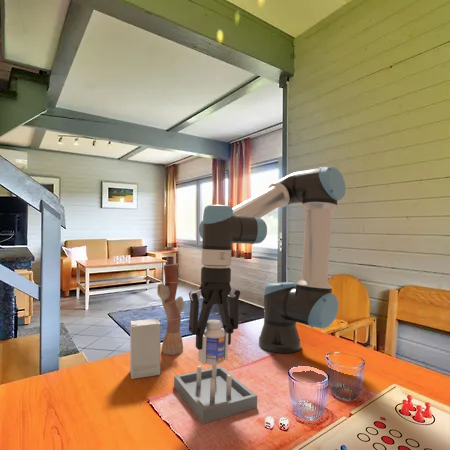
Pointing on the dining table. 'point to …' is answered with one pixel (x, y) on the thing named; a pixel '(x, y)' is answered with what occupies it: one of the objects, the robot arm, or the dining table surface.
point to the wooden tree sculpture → (171, 310)
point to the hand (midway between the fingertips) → (212, 359)
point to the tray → (214, 393)
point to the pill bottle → (214, 342)
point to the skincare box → (145, 348)
